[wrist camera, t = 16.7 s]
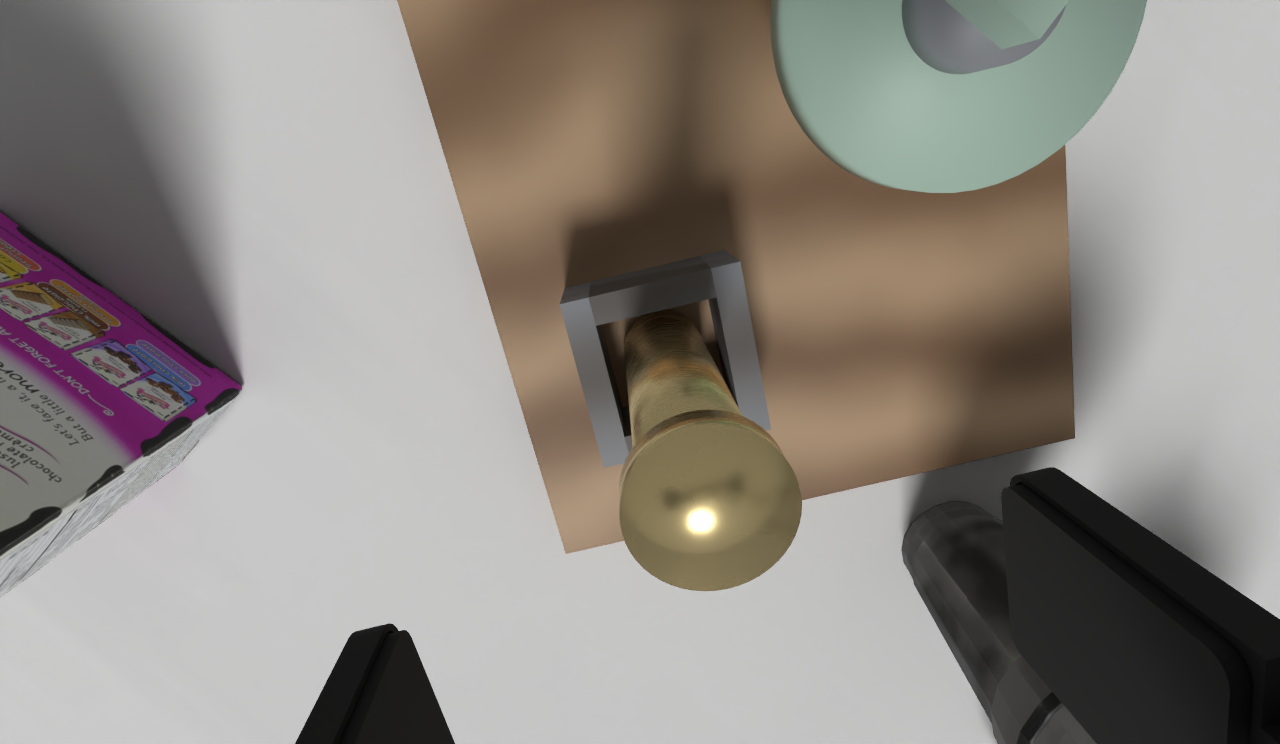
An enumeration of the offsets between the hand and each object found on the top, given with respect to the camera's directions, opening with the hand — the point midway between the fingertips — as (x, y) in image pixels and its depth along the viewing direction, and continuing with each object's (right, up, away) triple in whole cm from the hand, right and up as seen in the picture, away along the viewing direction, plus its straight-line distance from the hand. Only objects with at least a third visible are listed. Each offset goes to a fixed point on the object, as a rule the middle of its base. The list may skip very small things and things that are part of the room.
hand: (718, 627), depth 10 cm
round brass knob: (0, +5, +16) cm, 17 cm away
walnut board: (+4, +10, +16) cm, 20 cm away
